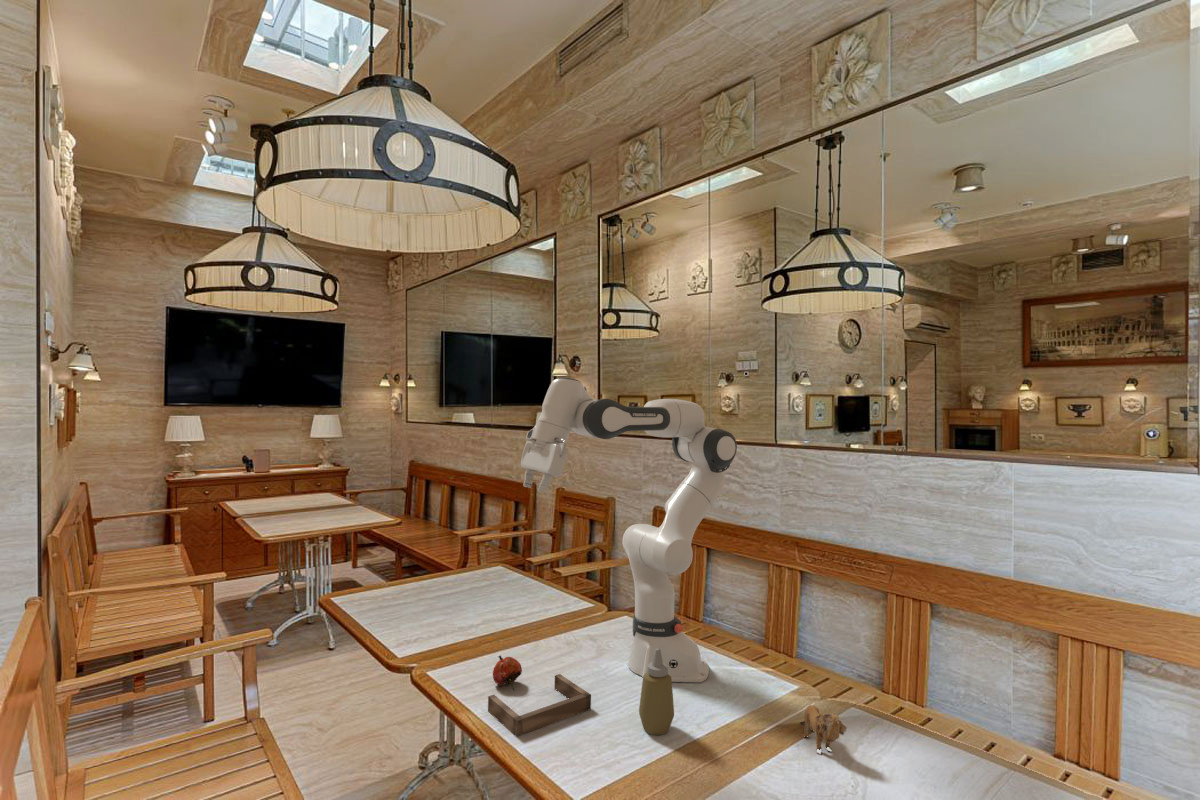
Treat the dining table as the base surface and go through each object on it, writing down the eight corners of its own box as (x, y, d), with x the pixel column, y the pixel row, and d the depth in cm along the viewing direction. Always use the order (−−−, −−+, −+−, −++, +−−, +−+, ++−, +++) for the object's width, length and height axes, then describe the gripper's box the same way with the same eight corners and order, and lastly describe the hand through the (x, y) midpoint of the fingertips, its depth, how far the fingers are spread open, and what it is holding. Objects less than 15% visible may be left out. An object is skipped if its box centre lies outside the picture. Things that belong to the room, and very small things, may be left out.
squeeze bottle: (672, 740, 132) (674, 659, 132) (636, 735, 134) (637, 655, 134) (675, 721, 140) (677, 644, 140) (640, 717, 142) (642, 641, 142)
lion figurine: (849, 761, 126) (850, 718, 126) (826, 764, 125) (827, 721, 125) (809, 724, 140) (810, 686, 140) (789, 727, 139) (789, 688, 139)
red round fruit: (525, 693, 157) (513, 658, 164) (529, 678, 153) (517, 643, 159) (497, 702, 154) (487, 666, 160) (501, 687, 149) (490, 651, 156)
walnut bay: (487, 710, 143) (488, 696, 143) (559, 687, 156) (559, 673, 156) (516, 736, 132) (517, 720, 132) (590, 709, 145) (591, 694, 145)
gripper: (578, 443, 146) (561, 498, 144) (545, 439, 164) (530, 488, 162) (555, 435, 143) (538, 491, 141) (525, 431, 161) (508, 481, 159)
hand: (533, 489), depth 151 cm, fingers open, 8 cm apart
